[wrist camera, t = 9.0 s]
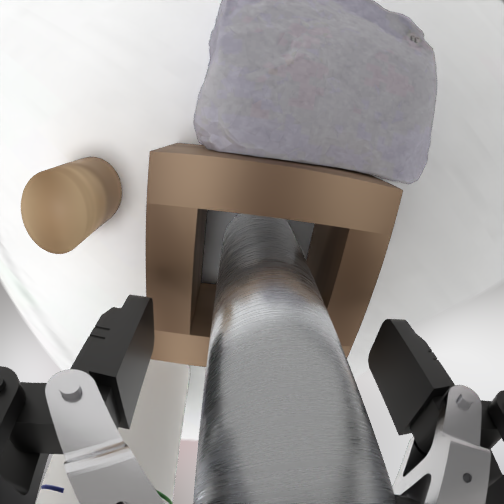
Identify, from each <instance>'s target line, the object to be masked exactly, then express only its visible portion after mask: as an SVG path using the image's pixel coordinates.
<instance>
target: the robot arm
mask: <svg viewBox="0 0 504 504" xmlns="http://www.w3.org/2000/svg"><path fill="white" fill-rule="evenodd" d="M154 338H155V335H154V312H153V299H152V298H150V297H143V296H136V295H129V296H128V298H127V299H126V301H125V303H124V305H123V306H122V308H115V307H113V308H111V309H110V310H108V311H107V312H105V313H104V314H103V315H101V317H100V319H99V320H98V322H97V324H96V325H95V328H94V329H93V330H92V332H91V334H90V337H88V339H87V341H86V342H85V344H84V346H83V347H82V349H81V351H80V353H79V355H78V356H77V358H76V360H75V362H74V363H73V365H72V367H71V369H69V370H64V371H60V372H58V373H56V374H55V375H54V376H52V377H51V378H50V379H49V381H48V383H25V382H20V381H19V379H18V377H17V375H16V374H15V372H13V371H12V370H11V369H9V368H6V367H1V366H0V504H35V500H36V497H37V493H38V489H39V485H40V482H41V478H42V475H43V472H44V468H45V465H46V462H47V458H48V455H49V454H64V457H65V460H66V462H64V467H65V470H66V473H67V476H68V478H69V481H70V483H71V486H72V488H73V490H74V492H75V495H76V497H77V499H78V501H79V503H80V504H165V503H164V501H163V500H162V498H161V497H160V495H159V494H158V493H157V491H156V490H155V488H154V487H153V485H152V484H151V482H150V481H149V479H148V477H147V476H146V474H145V473H144V471H143V469H142V468H141V466H140V464H139V463H138V461H137V459H136V458H135V456H134V454H133V453H132V451H131V449H130V448H129V446H128V445H127V444H125V443H124V441H123V439H122V437H121V436H120V434H119V432H118V428H119V427H120V428H125V429H129V430H130V426H131V422H132V419H133V415H134V412H135V408H136V405H137V401H138V398H139V394H140V391H141V388H142V385H143V381H144V378H145V375H146V372H147V368H148V365H149V362H150V359H151V356H152V352H153V348H154ZM368 362H369V368H370V370H371V372H372V374H373V377H374V379H375V381H376V383H377V385H378V388H379V390H380V392H381V394H382V396H383V399H384V401H385V404H386V406H387V408H388V410H389V413H390V415H391V417H392V420H393V422H394V425H395V427H396V429H397V432H398V434H399V435H403V434H408V433H412V434H413V437H412V439H411V440H410V441H409V443H408V447H407V450H406V452H405V455H404V458H403V461H402V464H401V467H400V469H399V472H398V475H397V477H396V480H395V482H394V484H393V485H392V488H393V491H394V494H395V498H396V501H397V504H504V475H502V473H501V471H500V469H499V466H498V464H497V462H496V460H495V458H494V455H493V453H492V451H491V448H492V447H493V446H494V445H495V444H496V443H497V442H498V441H499V440H500V439H501V438H502V439H503V441H504V391H500V392H499V393H498V394H497V395H496V397H495V398H494V399H493V401H481V400H480V398H479V397H478V395H477V394H476V393H475V392H474V391H473V390H472V389H470V388H468V387H466V386H463V385H454V383H453V381H452V380H451V378H450V377H449V375H448V374H447V373H446V371H445V369H444V368H443V366H442V365H441V363H440V362H439V361H438V360H437V358H436V356H435V355H434V353H433V352H432V350H431V349H430V347H429V346H428V344H427V343H426V342H425V341H424V340H423V339H422V338H421V337H420V336H418V335H417V334H416V333H415V332H414V330H413V329H412V328H411V326H410V325H409V323H408V322H407V321H406V320H399V319H386V320H385V321H384V322H383V323H382V325H381V328H380V330H379V332H378V335H377V337H376V339H375V342H374V344H373V346H372V348H371V350H370V353H369V359H368Z"/></svg>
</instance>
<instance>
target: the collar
mask: <svg viewBox="0 0 504 504" xmlns="http://www.w3.org/2000/svg"><path fill="white" fill-rule="evenodd" d="M402 193H403V190H402V189H400V188H398V187H395V186H393V185H391V184H389V183H387V182H385V181H383V180H380V179H378V178H376V177H374V176H372V175H369V174H366V173H361V172H357V171H352V170H347V169H342V168H337V167H331V166H323V165H316V164H308V163H301V162H293V161H286V160H279V159H272V158H264V157H257V156H250V155H242V154H236V153H228V152H217V151H214V150H208V149H206V147H205V146H204V145H194V144H182V143H176V144H172V145H169V146H165V147H162V148H159V149H156V150H153V151H150V157H149V170H148V186H147V208H146V295H147V297H150V298H152V299H153V312H154V335H155V338H154V348H153V352H152V356H151V359H153V360H159V361H165V362H172V363H179V364H186V365H194V366H202V367H206V366H207V357H208V349H209V341H210V332H211V324H212V317H213V309H214V301H215V294H216V286H217V285H216V284H207V283H201V276H202V263H203V251H204V239H205V228H206V218H207V210H216V211H224V212H233V213H241V214H249V215H257V216H265V217H273V218H280V219H287V220H295V221H302V222H309V223H315V224H314V229H313V233H312V238H311V243H310V247H309V251H308V256H307V260H306V262H307V264H308V267H309V269H310V271H311V274H312V276H313V278H314V281H315V283H316V285H317V288H318V290H319V292H320V295H321V297H322V299H323V302H324V304H325V307H326V309H327V311H328V314H329V316H330V319H331V321H332V324H333V326H334V329H335V331H336V333H337V336H338V338H339V341H340V343H341V346H342V348H343V351H344V354H345V356H346V359H347V357H348V355H349V352H350V350H351V348H352V345H353V343H354V340H355V338H356V336H357V333H358V331H359V328H360V326H361V323H362V320H363V318H364V315H365V313H366V310H367V307H368V305H369V302H370V299H371V296H372V293H373V291H374V288H375V285H376V282H377V279H378V276H379V273H380V270H381V267H382V264H383V261H384V258H385V254H386V251H387V248H388V244H389V241H390V238H391V234H392V231H393V227H394V224H395V220H396V216H397V212H398V209H399V205H400V201H401V197H402Z"/></svg>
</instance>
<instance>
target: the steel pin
mask: <svg viewBox="0 0 504 504" xmlns="http://www.w3.org/2000/svg"><path fill="white" fill-rule="evenodd" d="M193 504H397V501H396V498H395V494H394V491H393V488H392V485H391V482H390V479H389V476H388V472H387V470H386V467H385V463H384V460H383V458H382V454H381V452H380V449H379V446H378V443H377V440H376V437H375V434H374V431H373V428H372V426H371V423H370V420H369V417H368V414H367V412H366V409H365V406H364V404H363V401H362V398H361V395H360V393H359V390H358V387H357V385H356V382H355V379H354V377H353V374H352V372H351V369H350V366H349V364H348V361H347V359H346V356H345V354H344V351H343V348H342V346H341V343H340V341H339V338H338V336H337V333H336V331H335V329H334V326H333V324H332V321H331V319H330V316H329V314H328V311H327V309H326V307H325V304H324V302H323V299H322V297H321V295H320V292H319V290H318V288H317V285H316V283H315V281H314V278H313V276H312V274H311V271H310V269H309V267H308V264H307V262H306V260H305V258H304V255H303V253H302V251H301V249H300V246H299V244H298V242H297V240H296V237H295V235H294V233H293V231H292V228H291V226H290V225H289V223H288V222H287V220H286V219H280V218H273V217H265V216H257V215H249V214H241V213H240V214H238V215H237V216H235V217H234V218H233V219H232V220H231V221H230V223H229V224H228V226H227V228H226V230H225V233H224V237H223V244H222V251H221V258H220V265H219V272H218V279H217V286H216V294H215V301H214V309H213V317H212V324H211V332H210V341H209V349H208V357H207V366H206V375H205V384H204V393H203V402H202V412H201V422H200V432H199V443H198V454H197V465H196V477H195V489H194V503H193Z"/></svg>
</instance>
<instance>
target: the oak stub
mask: <svg viewBox="0 0 504 504" xmlns="http://www.w3.org/2000/svg"><path fill="white" fill-rule="evenodd" d="M121 197H122V188H121V182H120V179H119V176H118V174H117V173H116V171H115V170H114V168H113V167H112V166H111V165H110V164H109V163H108V162H106V161H105V160H103V159H100V158H97V157H87V158H83V159H80V160H76V161H73V162H70V163H66V164H63V165H60V166H57V167H54V168H51V169H48V170H45V171H42V172H39V173H37V174H36V175H34V176H33V177H32V178H31V179H30V180H29V182H28V183H27V185H26V186H25V189H24V191H23V194H22V199H21V214H22V219H23V223H24V226H25V228H26V230H27V232H28V234H29V235H30V237H31V238H32V240H33V241H34V242H35V243H36V244H37V245H38V246H39V247H41V248H42V249H44V250H46V251H48V252H50V253H54V254H63V253H67V252H69V251H71V250H73V249H74V248H75V247H76V246H78V245H79V244H80V243H81V242H82V241H83V240H85V239H86V238H87V237H88V236H89V235H90V234H92V233H93V232H94V231H95V230H96V229H98V228H99V227H100V226H101V225H102V224H104V223H105V222H106V221H107V220H108V219H110V218H111V217H112V216H113V215H114V214H115V213H116V211H117V209H118V207H119V205H120V202H121Z"/></svg>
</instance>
